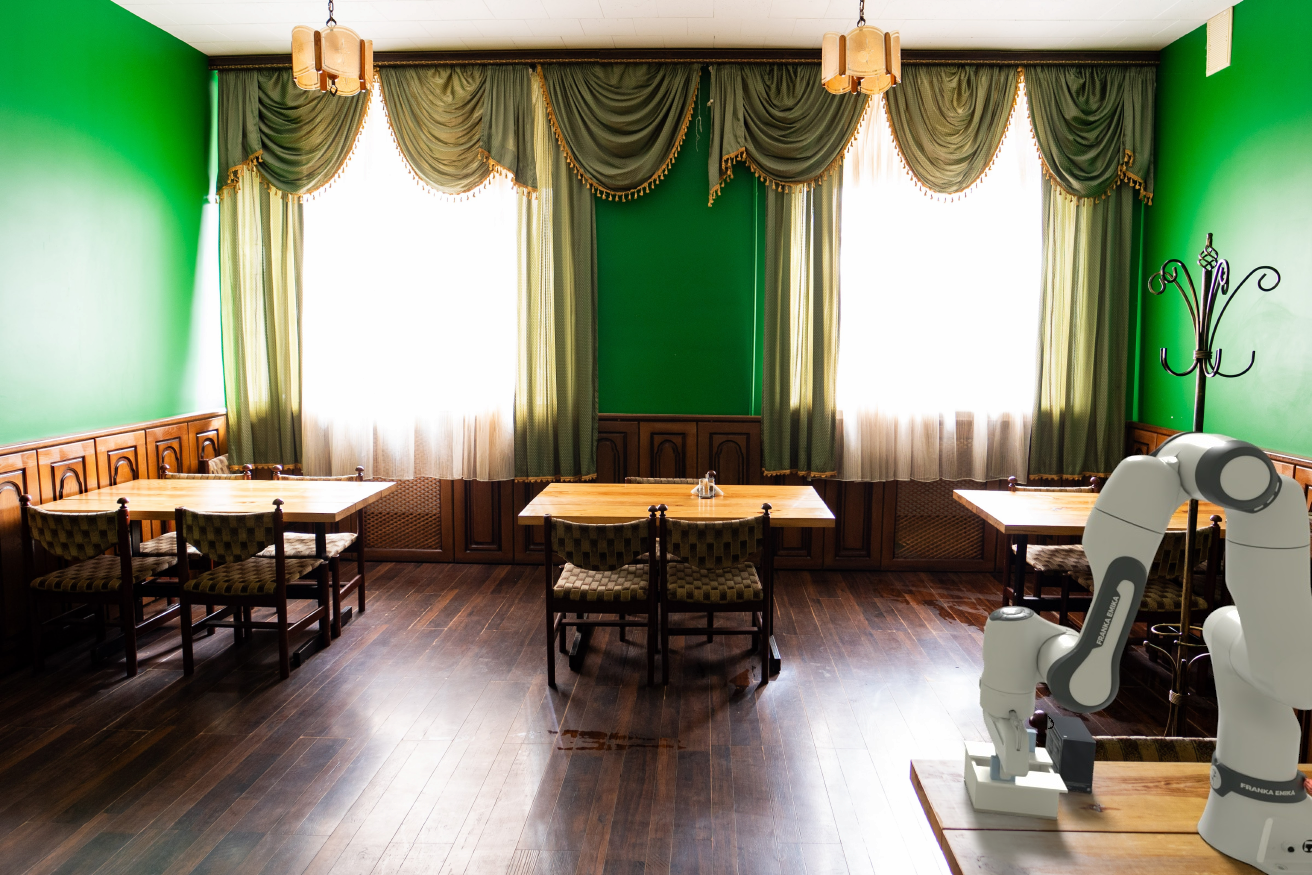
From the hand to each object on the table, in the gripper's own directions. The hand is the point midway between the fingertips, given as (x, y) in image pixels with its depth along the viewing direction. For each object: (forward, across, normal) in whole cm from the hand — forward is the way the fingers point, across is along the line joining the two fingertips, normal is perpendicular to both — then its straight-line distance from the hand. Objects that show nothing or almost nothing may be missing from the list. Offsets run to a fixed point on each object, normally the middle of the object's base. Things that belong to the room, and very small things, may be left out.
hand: (1002, 773), depth 144 cm
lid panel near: (+2, +1, -3) cm, 4 cm away
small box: (+9, +18, -16) cm, 25 cm away
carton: (+9, +8, -3) cm, 12 cm away
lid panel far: (+2, +10, -3) cm, 11 cm away
